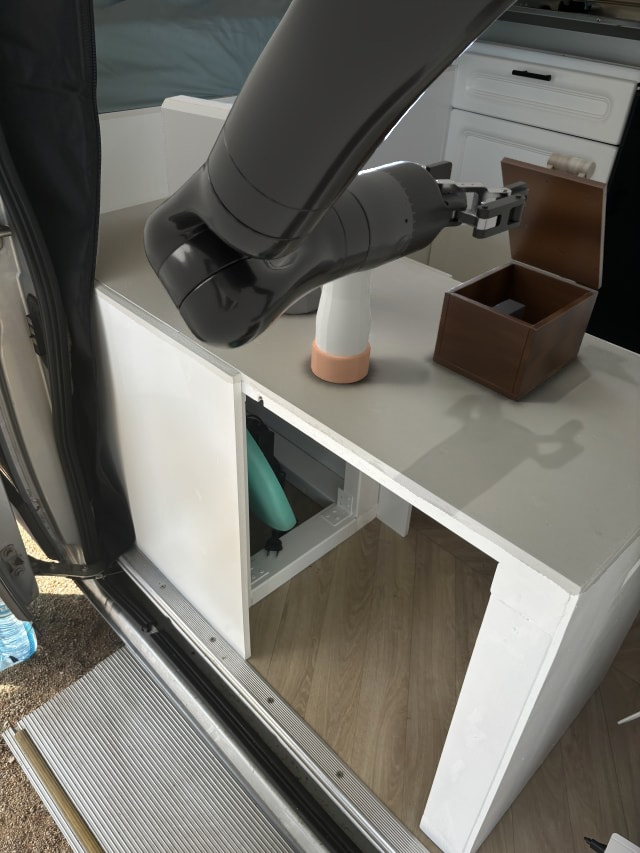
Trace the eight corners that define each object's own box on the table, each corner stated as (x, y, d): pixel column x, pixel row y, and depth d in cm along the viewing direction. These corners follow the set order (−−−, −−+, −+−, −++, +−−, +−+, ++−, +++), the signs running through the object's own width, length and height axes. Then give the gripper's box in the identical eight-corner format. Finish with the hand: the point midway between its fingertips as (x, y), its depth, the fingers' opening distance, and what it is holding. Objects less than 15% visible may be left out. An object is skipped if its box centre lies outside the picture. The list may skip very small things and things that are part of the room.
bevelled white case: (281, 226, 122) (283, 110, 110) (257, 239, 117) (256, 118, 105) (193, 203, 130) (185, 92, 118) (166, 213, 125) (155, 98, 113)
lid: (603, 188, 69) (630, 154, 70) (500, 160, 75) (526, 130, 76) (598, 290, 82) (620, 260, 83) (511, 259, 89) (533, 232, 90)
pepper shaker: (302, 375, 81) (308, 223, 70) (322, 348, 87) (331, 204, 75) (358, 389, 79) (374, 235, 68) (375, 361, 85) (392, 214, 74)
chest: (516, 401, 79) (536, 329, 73) (432, 360, 86) (444, 291, 80) (576, 358, 88) (598, 291, 82) (496, 324, 95) (512, 260, 89)
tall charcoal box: (512, 360, 85) (527, 304, 80) (490, 373, 82) (504, 316, 78) (497, 353, 87) (510, 298, 82) (474, 366, 84) (487, 309, 79)
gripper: (453, 193, 47) (561, 157, 57) (315, 151, 55) (430, 125, 65) (437, 289, 52) (540, 241, 61) (311, 237, 60) (420, 202, 69)
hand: (484, 182), depth 63 cm, fingers open, 8 cm apart
